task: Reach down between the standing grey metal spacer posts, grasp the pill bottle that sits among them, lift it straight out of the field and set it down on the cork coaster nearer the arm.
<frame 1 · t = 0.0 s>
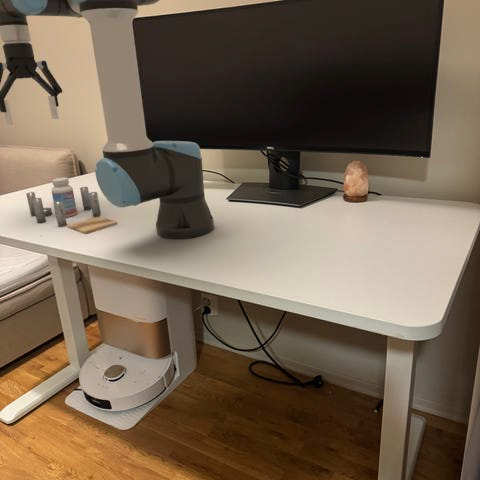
hand: (33, 121, 137), 28 cm above the table, fingers open, 13 cm apart
steel nut: (45, 215, 144), on the table
pill bottle: (67, 215, 143), on the table
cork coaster: (92, 225, 131), on the table
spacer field: (67, 214, 143), on the table
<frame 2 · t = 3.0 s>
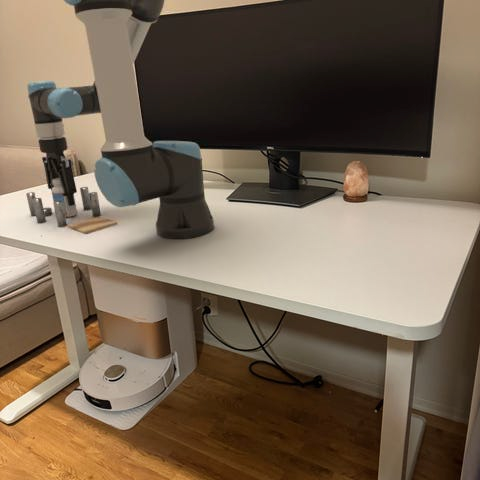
hand: (66, 213, 143), 0 cm above the table, fingers closed on pill bottle, 6 cm apart
pill bottle: (67, 215, 143), on the table, touching gripper
everything else where it was.
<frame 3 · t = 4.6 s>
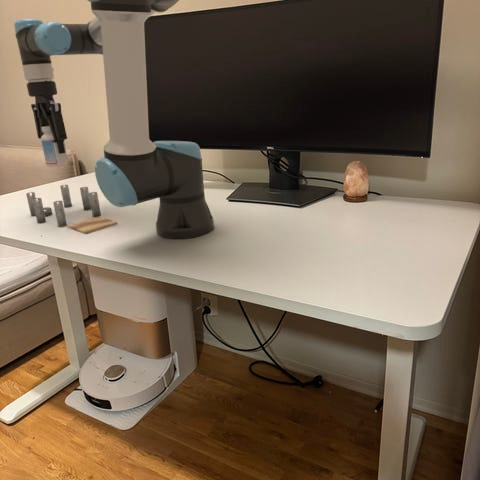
hand: (57, 163, 137), 16 cm above the table, fingers closed on pill bottle, 6 cm apart
pill bottle: (57, 165, 137), point 15 cm above the table, touching gripper
everything else where it was.
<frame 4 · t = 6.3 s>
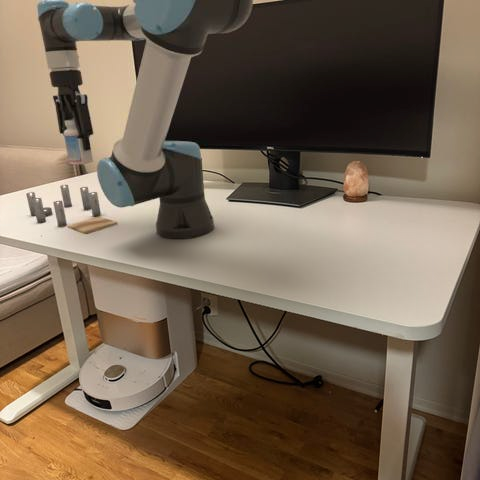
hand: (81, 161, 124), 18 cm above the table, fingers closed on pill bottle, 6 cm apart
pill bottle: (81, 163, 125), point 18 cm above the table, touching gripper
everything else where it was.
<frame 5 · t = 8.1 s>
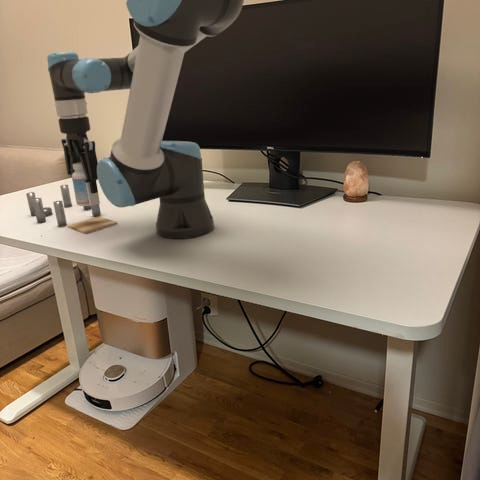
hand: (88, 202, 129), 7 cm above the table, fingers closed on pill bottle, 6 cm apart
pill bottle: (88, 204, 129), point 6 cm above the table, touching gripper
everything else where it was.
when the fingers open (2 cm above the table, at t = 9.4 s): pill bottle drops 1 cm, resting on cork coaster.
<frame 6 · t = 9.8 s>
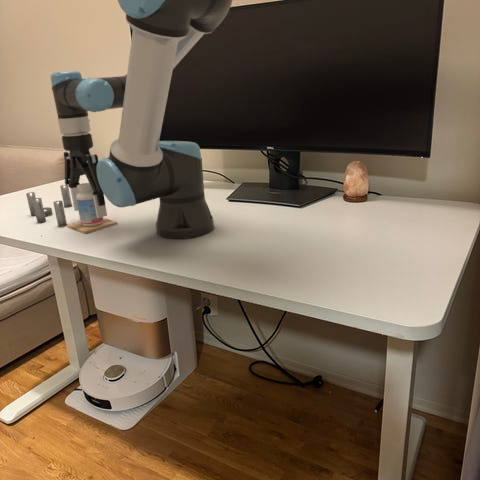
hand: (90, 213, 130), 4 cm above the table, fingers open, 11 cm apart
pill bottle: (92, 224, 131), resting on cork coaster
everything else where it was.
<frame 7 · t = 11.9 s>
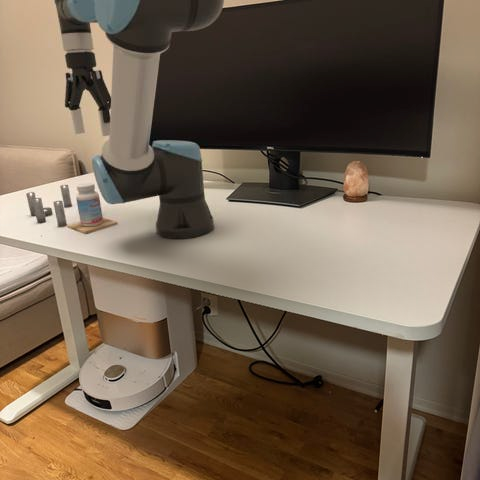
hand: (93, 134, 129), 24 cm above the table, fingers open, 13 cm apart
nothing on the table moved.
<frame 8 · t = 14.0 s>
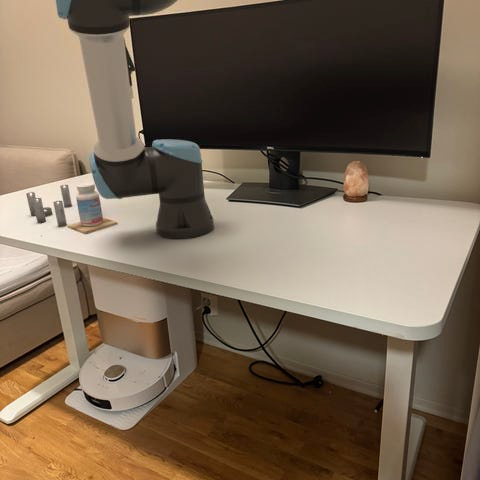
hand: (115, 98, 138), 33 cm above the table, fingers open, 13 cm apart
nothing on the table moved.
at the end: pill bottle 0.1 cm from the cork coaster (horizontally); pill bottle tilted 0°; pill bottle resting on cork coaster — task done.
